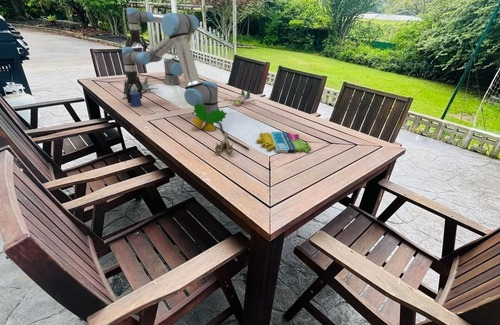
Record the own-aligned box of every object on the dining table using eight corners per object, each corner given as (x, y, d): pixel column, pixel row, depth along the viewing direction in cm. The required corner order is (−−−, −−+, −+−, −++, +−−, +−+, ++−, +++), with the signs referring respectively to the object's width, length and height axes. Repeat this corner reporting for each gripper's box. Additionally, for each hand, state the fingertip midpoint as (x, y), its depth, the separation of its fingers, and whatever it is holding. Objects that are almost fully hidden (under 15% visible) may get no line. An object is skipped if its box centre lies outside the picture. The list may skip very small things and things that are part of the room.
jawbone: (234, 135, 144) (233, 125, 135) (233, 160, 138) (232, 151, 129) (217, 135, 144) (216, 125, 135) (216, 160, 138) (214, 150, 129)
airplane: (117, 88, 232) (115, 76, 227) (154, 85, 245) (152, 75, 240) (121, 101, 204) (118, 88, 199) (162, 97, 217) (161, 85, 212)
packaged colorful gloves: (313, 150, 142) (258, 149, 139) (312, 153, 143) (258, 152, 140) (301, 132, 164) (254, 130, 161) (301, 134, 165) (254, 133, 162)
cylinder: (143, 104, 198) (141, 92, 194) (137, 107, 192) (135, 94, 188) (134, 103, 200) (132, 91, 195) (128, 105, 193) (126, 93, 189)
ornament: (218, 133, 171) (224, 110, 169) (221, 134, 163) (227, 111, 161) (186, 125, 162) (192, 101, 160) (189, 126, 155) (195, 101, 153)
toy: (261, 91, 228) (254, 99, 202) (261, 99, 231) (253, 108, 205) (231, 87, 233) (220, 95, 207) (230, 95, 236) (219, 104, 210)
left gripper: (122, 30, 203) (127, 59, 213) (150, 30, 221) (153, 56, 231) (117, 29, 206) (122, 57, 216) (144, 29, 224) (147, 55, 235)
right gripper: (136, 67, 195) (140, 95, 206) (114, 73, 174) (120, 104, 184) (145, 68, 194) (148, 97, 204) (124, 74, 173) (129, 105, 183)
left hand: (138, 57), depth 224 cm, fingers open, 13 cm apart
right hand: (135, 100), depth 194 cm, fingers open, 13 cm apart
